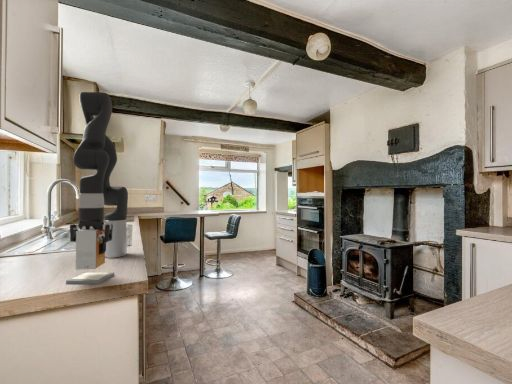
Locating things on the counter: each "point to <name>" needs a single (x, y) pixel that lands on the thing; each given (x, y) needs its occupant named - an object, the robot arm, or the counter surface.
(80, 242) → the small box
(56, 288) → the counter surface
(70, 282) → the board
